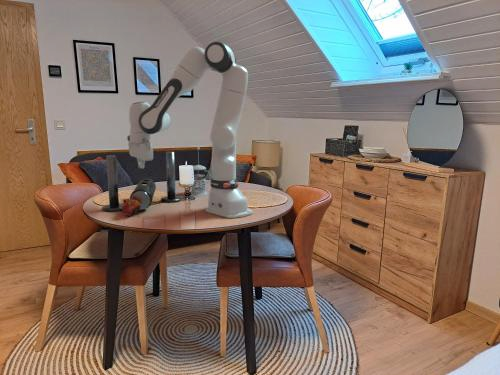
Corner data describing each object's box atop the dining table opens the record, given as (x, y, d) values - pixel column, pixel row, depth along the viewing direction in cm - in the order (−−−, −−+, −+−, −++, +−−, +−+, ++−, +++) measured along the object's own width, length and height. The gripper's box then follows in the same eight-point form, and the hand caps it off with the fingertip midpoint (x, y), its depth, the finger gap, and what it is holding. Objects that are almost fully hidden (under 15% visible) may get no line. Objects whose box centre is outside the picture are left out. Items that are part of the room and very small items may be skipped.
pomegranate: (143, 218, 156) (129, 202, 158) (149, 207, 152) (134, 191, 154) (130, 224, 150) (115, 208, 152) (135, 213, 146) (120, 196, 148)
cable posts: (185, 200, 178) (184, 152, 173) (106, 213, 155) (102, 158, 150) (176, 196, 185) (174, 150, 180) (99, 207, 162) (95, 155, 157)
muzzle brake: (156, 197, 184) (156, 177, 182) (152, 212, 157) (151, 189, 155) (137, 197, 183) (136, 177, 180) (129, 213, 156) (128, 190, 154)
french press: (187, 191, 197) (186, 146, 192) (207, 190, 202) (207, 145, 197) (192, 195, 189) (191, 148, 183) (213, 193, 193) (213, 147, 188)
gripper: (156, 139, 158) (157, 170, 161) (138, 136, 174) (139, 164, 177) (142, 140, 154) (143, 172, 157) (125, 136, 170) (127, 165, 173)
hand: (141, 168), depth 167 cm, fingers closed
